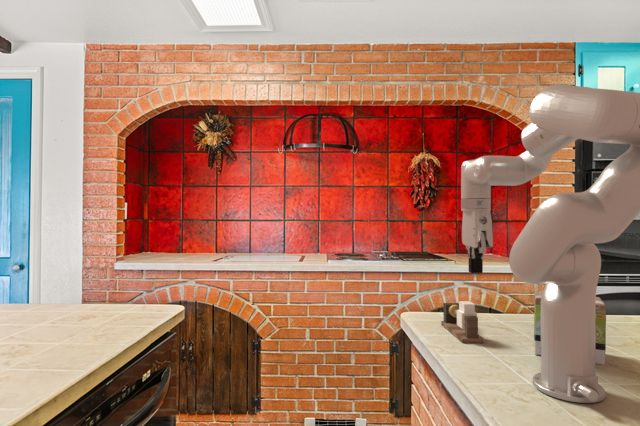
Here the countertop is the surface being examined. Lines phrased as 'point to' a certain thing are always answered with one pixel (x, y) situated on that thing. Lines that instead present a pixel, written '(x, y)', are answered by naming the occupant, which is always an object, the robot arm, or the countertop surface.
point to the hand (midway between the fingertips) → (475, 272)
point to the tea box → (599, 328)
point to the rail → (461, 334)
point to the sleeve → (465, 312)
